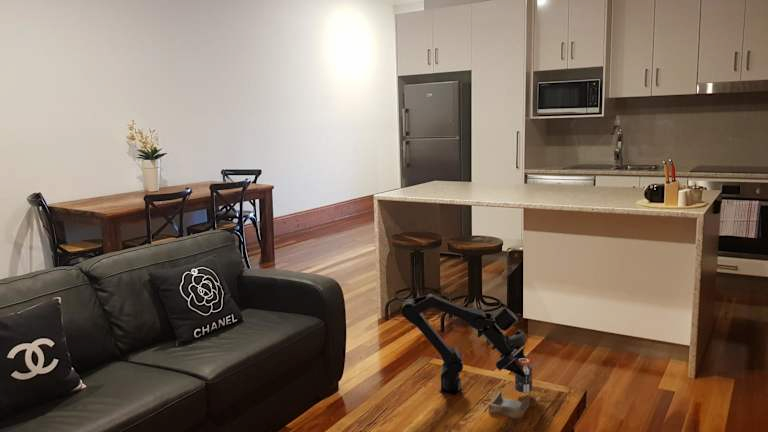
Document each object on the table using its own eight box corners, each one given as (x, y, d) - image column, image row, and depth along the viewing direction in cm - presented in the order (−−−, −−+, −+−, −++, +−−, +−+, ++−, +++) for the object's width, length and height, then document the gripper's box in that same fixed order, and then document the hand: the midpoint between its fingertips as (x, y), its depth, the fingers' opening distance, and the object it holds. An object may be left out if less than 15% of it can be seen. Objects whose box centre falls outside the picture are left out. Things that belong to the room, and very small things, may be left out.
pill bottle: (532, 393, 209) (532, 363, 207) (515, 393, 211) (515, 363, 209) (531, 386, 215) (531, 356, 213) (515, 385, 216) (514, 356, 214)
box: (488, 412, 203) (488, 404, 202) (499, 398, 212) (498, 390, 212) (520, 419, 197) (520, 410, 197) (529, 404, 207) (529, 396, 206)
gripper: (504, 334, 203) (536, 370, 199) (520, 317, 219) (550, 350, 215) (482, 353, 208) (513, 388, 204) (499, 334, 224) (528, 367, 221)
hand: (527, 372), depth 211 cm, fingers closed on pill bottle, 6 cm apart
